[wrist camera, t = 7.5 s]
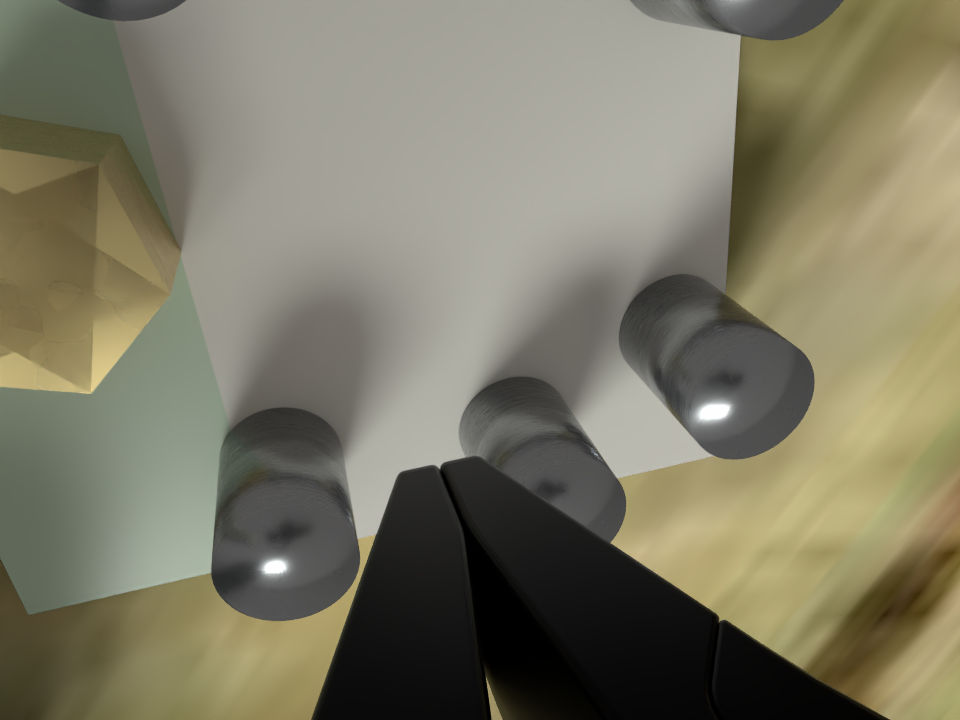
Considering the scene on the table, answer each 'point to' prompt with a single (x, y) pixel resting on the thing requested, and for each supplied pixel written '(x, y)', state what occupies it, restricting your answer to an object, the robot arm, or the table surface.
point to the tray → (360, 245)
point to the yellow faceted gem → (74, 255)
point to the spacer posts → (511, 400)
